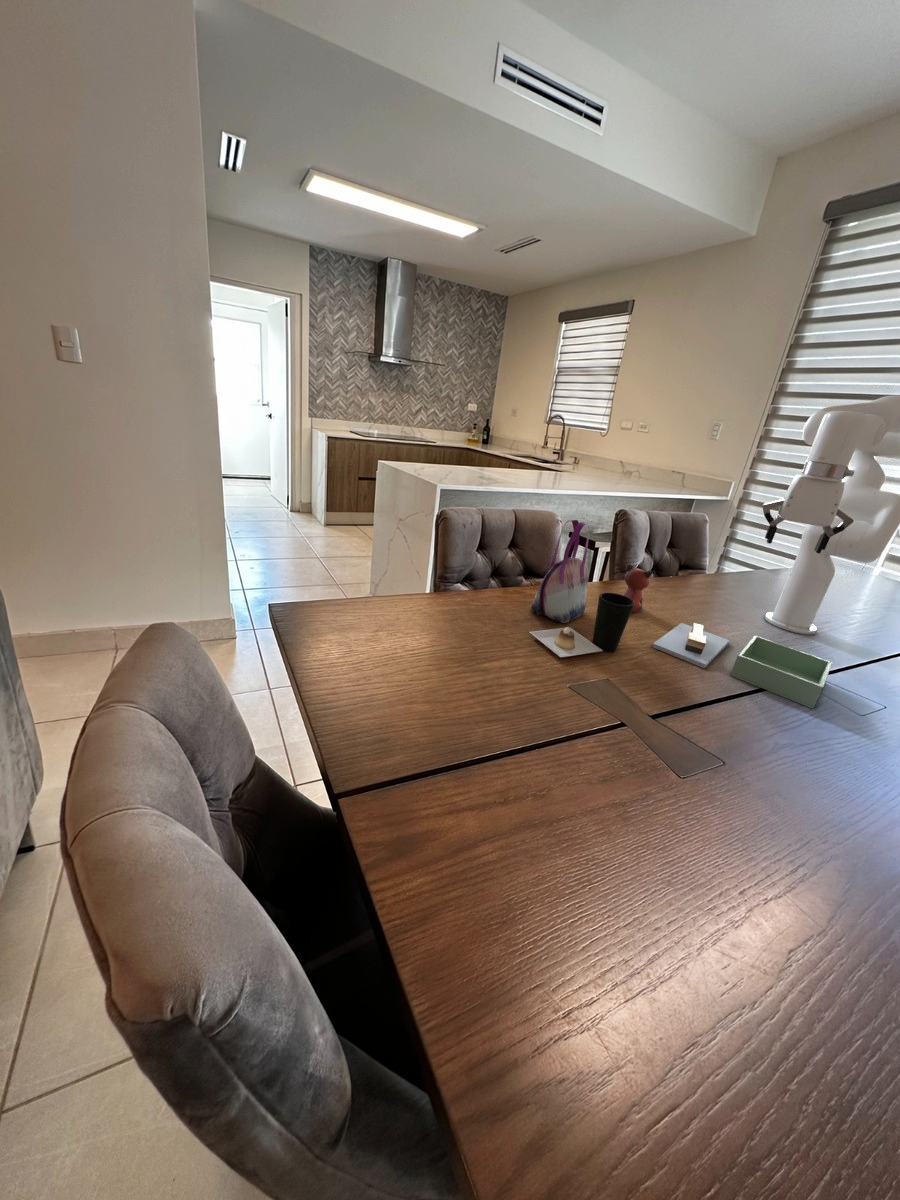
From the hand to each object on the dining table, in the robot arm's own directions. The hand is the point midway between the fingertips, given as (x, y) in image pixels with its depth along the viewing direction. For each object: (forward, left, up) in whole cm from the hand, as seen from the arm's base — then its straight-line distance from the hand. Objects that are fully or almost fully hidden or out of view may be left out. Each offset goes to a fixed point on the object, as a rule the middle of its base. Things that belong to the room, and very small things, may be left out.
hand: (792, 547), depth 109 cm
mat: (+14, -10, -26) cm, 32 cm away
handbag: (+27, -41, -26) cm, 56 cm away
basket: (+14, +8, -26) cm, 31 cm away
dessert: (+42, -30, -26) cm, 58 cm away
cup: (+34, -24, -26) cm, 49 cm away
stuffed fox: (+6, -31, -26) cm, 41 cm away
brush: (+14, -10, -25) cm, 31 cm away
